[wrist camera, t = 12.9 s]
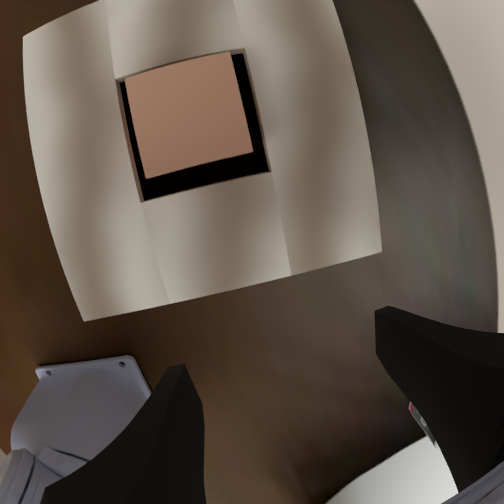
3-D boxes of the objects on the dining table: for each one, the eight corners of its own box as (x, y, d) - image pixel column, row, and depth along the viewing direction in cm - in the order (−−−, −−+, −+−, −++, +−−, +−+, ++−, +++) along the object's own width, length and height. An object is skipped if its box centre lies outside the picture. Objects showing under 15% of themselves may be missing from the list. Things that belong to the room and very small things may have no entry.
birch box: (107, 289, 19) (83, 321, 14) (56, 56, 14) (23, 36, 10) (348, 232, 20) (382, 251, 15) (298, -1, 15) (319, -34, 11)
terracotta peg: (170, 172, 17) (145, 178, 11) (156, 108, 16) (124, 78, 10) (237, 156, 18) (253, 151, 11) (223, 91, 16) (229, 51, 10)
